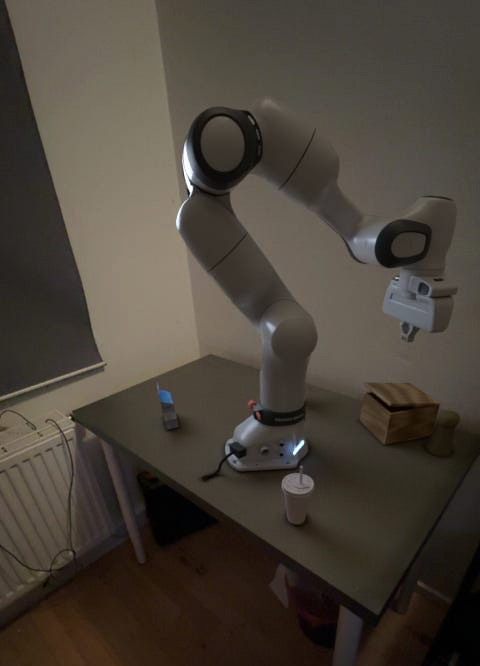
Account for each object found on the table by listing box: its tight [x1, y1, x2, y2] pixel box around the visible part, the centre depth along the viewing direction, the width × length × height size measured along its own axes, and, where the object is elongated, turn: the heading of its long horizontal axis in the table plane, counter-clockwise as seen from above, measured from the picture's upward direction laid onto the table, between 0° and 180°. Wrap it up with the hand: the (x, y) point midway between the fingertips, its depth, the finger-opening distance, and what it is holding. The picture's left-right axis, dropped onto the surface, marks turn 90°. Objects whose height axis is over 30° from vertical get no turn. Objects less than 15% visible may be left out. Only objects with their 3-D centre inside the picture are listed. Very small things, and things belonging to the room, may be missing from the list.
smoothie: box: [281, 465, 315, 525], centre depth 70 cm, size 6×6×14 cm
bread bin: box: [359, 390, 441, 446], centre depth 98 cm, size 14×13×10 cm
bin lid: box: [363, 382, 441, 407], centre depth 95 cm, size 15×13×1 cm
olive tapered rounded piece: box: [425, 409, 461, 457], centre depth 88 cm, size 6×6×11 cm
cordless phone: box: [156, 382, 179, 431], centre depth 107 cm, size 9×4×12 cm, turn 16°
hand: (406, 340), depth 86 cm, fingers closed
